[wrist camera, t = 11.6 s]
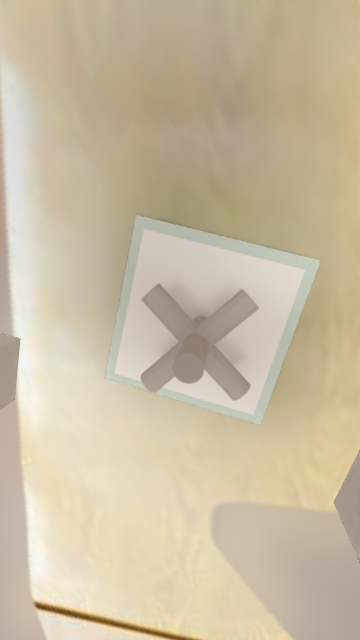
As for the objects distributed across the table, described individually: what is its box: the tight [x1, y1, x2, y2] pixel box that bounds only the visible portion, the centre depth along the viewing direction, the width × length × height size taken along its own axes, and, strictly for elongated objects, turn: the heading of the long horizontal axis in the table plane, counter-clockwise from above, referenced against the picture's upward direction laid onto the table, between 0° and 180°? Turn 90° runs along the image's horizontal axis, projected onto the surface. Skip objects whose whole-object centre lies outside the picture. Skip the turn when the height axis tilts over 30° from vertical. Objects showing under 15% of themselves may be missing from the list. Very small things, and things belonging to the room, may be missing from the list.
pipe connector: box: [141, 284, 259, 400], centre depth 21 cm, size 10×10×10 cm
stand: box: [104, 215, 320, 425], centre depth 27 cm, size 16×16×3 cm
